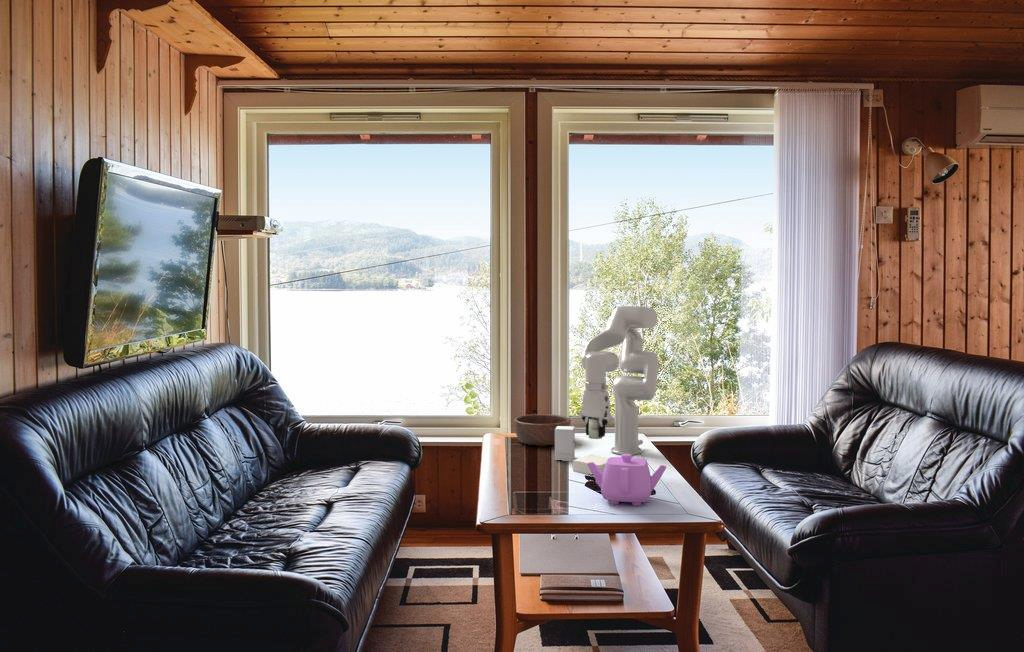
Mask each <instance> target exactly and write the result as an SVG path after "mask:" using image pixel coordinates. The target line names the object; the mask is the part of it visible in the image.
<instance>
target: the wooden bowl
mask: <svg viewBox="0 0 1024 652" xmlns="http://www.w3.org/2000/svg"><path fill="white" fill-rule="evenodd" d="M571 422H572V420H571V419H570V418H569V417H567V416H566V415H565V416H564V415H559V414H548V413H544V414H543V413H539V414H537V413H536V414H526V415H525V414H524V415H520V416H516V417H515V418H514V419H513V424H514V431H515V435H516V438H517V439H518V441H519V442H520V443H521V444H523V443H524V444H523V445H526V444H528V445H527V446H531V445H536V446H535V447H547V446H546V445H554V446H555V429H556V427H557V426H571ZM537 445H538V446H537Z"/></svg>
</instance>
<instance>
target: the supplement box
mask: <svg viewBox="0 0 1024 652" xmlns="http://www.w3.org/2000/svg"><path fill="white" fill-rule="evenodd" d="M575 428H576V427H575V426H574V425H573V426H571V425H570V426H557V427H556V429H555V445H554V461H557V460H562V461H563V462H573V460H574V458H575V449H576V448H575V445H576V444H575V440H576V439H575V438H576V437H575V435H576V434H575V433H576V432H575V431H576V430H575Z"/></svg>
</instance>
